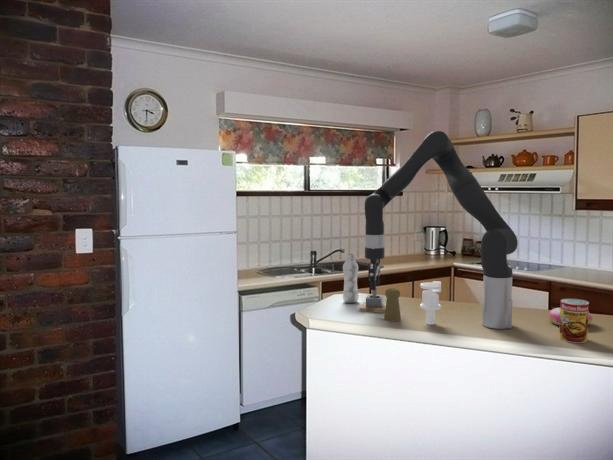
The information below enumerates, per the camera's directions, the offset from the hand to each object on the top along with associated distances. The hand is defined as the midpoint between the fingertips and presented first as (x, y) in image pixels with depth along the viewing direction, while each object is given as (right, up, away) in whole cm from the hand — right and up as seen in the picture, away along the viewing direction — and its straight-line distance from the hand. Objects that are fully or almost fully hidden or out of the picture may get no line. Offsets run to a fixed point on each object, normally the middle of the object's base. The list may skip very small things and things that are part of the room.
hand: (374, 287), depth 205 cm
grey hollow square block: (0, -7, +1) cm, 7 cm away
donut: (+65, -10, -22) cm, 69 cm away
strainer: (+17, -10, -20) cm, 28 cm away
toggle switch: (0, -8, +1) cm, 8 cm away
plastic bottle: (-8, -8, +12) cm, 16 cm away
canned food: (+57, -12, -39) cm, 70 cm away
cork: (+5, -10, -14) cm, 18 cm away
